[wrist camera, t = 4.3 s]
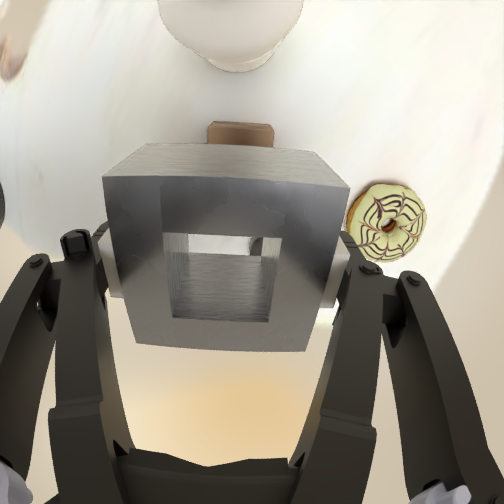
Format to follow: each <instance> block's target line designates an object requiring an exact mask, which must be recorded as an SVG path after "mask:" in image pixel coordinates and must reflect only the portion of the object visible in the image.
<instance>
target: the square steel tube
mask: <svg viewBox="0 0 504 504" xmlns="http://www.w3.org/2000/svg"><path fill="white" fill-rule="evenodd" d="M102 180H103V189H104V197H105V205H106V212H107V218H108V224H109V230H110V236H111V242H112V247H113V252H114V257H115V262H116V267H117V272H118V276H119V280H120V285H121V289H122V293H123V297H124V301H125V305H126V308H127V312H128V316H129V319H130V323H131V327H132V330H133V333H134V337H135V340H136V343H140V344H148V345H158V346H167V347H178V348H191V349H207V350H225V351H256V352H298V351H299V352H300V351H305V350H306V347H307V344H308V341H309V338H310V335H311V332H312V329H313V326H314V323H315V320H316V317H317V313H318V310H319V307H320V304H321V300H322V297H323V294H324V290H325V287H326V283H327V280H328V276H329V273H330V269H331V265H332V262H333V258H334V254H335V250H336V247H337V243H338V239H339V235H340V231H341V227H342V223H343V218H344V214H345V210H346V205H347V201H348V197H349V192H350V187H349V186H348V185H347V184H346V183H345V182H344V181H343V180H342V179H341V178H340V177H339V176H338V175H337V174H336V173H335V172H334V171H333V170H332V169H331V168H330V167H329V166H328V165H327V164H326V163H325V162H324V161H323V160H322V159H321V158H320V157H319V156H318V155H317V154H316V153H315V152H309V151H301V150H292V149H282V148H271V147H258V146H244V145H225V144H188V143H167V144H146V145H144V146H143V147H141V148H140V149H138V150H137V151H136V152H134V153H133V154H131V155H130V156H129V157H127V158H126V159H124V160H123V161H122V162H120V163H119V164H118V165H116V166H115V167H114V168H112V169H111V170H110V171H108V172H107V173H106V174H105V175H103V176H102ZM188 234H207V235H227V236H247V237H263V245H262V254H261V256H247V255H227V254H206V253H189V250H188Z"/></svg>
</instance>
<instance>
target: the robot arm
mask: <svg viewBox="0 0 504 504" xmlns="http://www.w3.org/2000/svg"><path fill="white" fill-rule="evenodd" d="M3 219H4V199H3V193H2V189H1V186H0V228H1V226H2V223H3ZM60 242H61V246H62V250H63V253H64V257H65V259H64V261H60V262H53V263H51V262H50V259H49V256H48V255H47V254H42V253H41V254H35V255H33V256H31V257H30V258H29V259H27V260H26V262H25V263H24V264H23V266H22V268H21V269H20V271H19V272H18V274H17V275H16V277H15V279H14V281H13V282H12V284H11V286H10V287H9V289H8V291H7V292H6V294H5V296H4V298H3V300H2V301H1V303H0V504H30V503H32V501H33V495H32V493H31V491H30V490H29V489H28V488H27V486H26V484H25V481H26V478H27V475H28V470H29V466H30V460H31V454H32V447H33V439H34V432H35V425H36V420H37V414H38V408H39V403H40V399H41V394H42V389H43V385H44V380H45V377H46V372H47V369H48V365H49V361H50V358H51V354H52V351H53V347H54V344H55V341H56V346H55V347H56V348H55V349H56V350H55V386H56V406H55V408H51V409H50V410H49V413H48V426H49V437H50V445H51V452H52V460H53V466H54V472H55V477H56V482H57V487H58V492H59V493H58V494H57V495H56V496H54V497H53V498H51V499H50V500H49V501H47V502H46V503H44V504H362V501H363V497H364V493H365V489H366V485H367V481H368V477H369V473H370V468H371V464H372V459H373V454H374V449H375V444H376V436H377V433H376V429H375V428H374V427H372V425H371V420H372V414H373V407H374V401H375V394H376V386H377V378H378V369H379V359H380V346H381V345H380V344H381V332H382V336H383V341H384V345H385V350H386V354H387V359H388V363H389V369H390V374H391V379H392V384H393V390H394V396H395V402H396V408H397V415H398V421H399V428H400V437H401V445H402V455H403V466H404V475H405V483H406V488H407V492H408V496H409V499H410V502H409V504H504V478H503V476H502V474H501V472H500V470H499V468H498V466H497V464H496V462H495V460H494V458H493V456H492V454H491V452H490V450H489V449H488V446H487V441H486V437H485V433H484V429H483V425H482V421H481V417H480V414H479V410H478V407H477V404H476V400H475V397H474V394H473V390H472V387H471V384H470V382H469V378H468V376H467V373H466V370H465V367H464V364H463V362H462V359H461V357H460V354H459V351H458V349H457V346H456V344H455V342H454V339H453V337H452V334H451V332H450V330H449V327H448V325H447V323H446V321H445V318H444V316H443V314H442V312H441V310H440V308H439V306H438V303H437V301H436V299H435V297H434V295H433V293H432V291H431V289H430V287H429V285H428V283H427V281H426V280H425V279H424V278H423V277H422V276H421V275H420V274H418V273H416V272H413V271H403V272H401V274H400V276H399V279H396V278H392V277H388V276H385V275H383V271H382V269H381V268H380V267H379V266H378V265H377V264H375V263H373V262H371V261H368V260H366V258H365V257H364V255H363V254H362V252H361V250H360V249H359V247H358V245H357V244H356V242H355V241H354V239H353V237H352V236H351V235H349V234H348V233H347V232H345V231H340V235H339V239H338V243H337V247H336V250H335V254H334V258H333V262H332V265H331V269H330V273H329V276H328V280H327V283H326V287H325V290H324V294H323V297H322V300H321V304H320V307H319V308H333V307H334V304H335V301H336V298H337V299H338V302H339V307H338V310H337V313H336V316H335V318H334V321H333V324H332V325H334V326H333V330H332V334H331V338H330V342H329V346H328V349H327V353H326V357H325V360H324V364H323V368H322V371H321V374H320V378H319V381H318V384H317V388H316V391H315V394H314V398H313V400H312V403H311V407H310V410H309V413H308V416H307V419H306V422H305V424H304V427H303V430H302V433H301V436H300V439H299V441H298V444H297V447H296V449H295V451H294V453H293V455H292V457H291V459H290V461H289V464H288V460H287V458H273V459H272V458H271V459H246V460H242V461H237V462H232V463H227V464H222V465H216V466H210V467H206V466H201V465H198V464H195V463H192V462H189V461H186V460H183V459H180V458H177V457H174V456H172V455H169V454H166V453H159V452H152V451H146V450H141V449H136V448H135V446H134V444H133V441H132V439H131V436H130V432H129V428H128V425H127V421H126V417H125V412H124V408H123V404H122V399H121V395H120V390H119V385H118V380H117V375H116V369H115V363H114V357H113V350H112V343H111V336H110V328H109V319H108V310H107V301H106V297H105V292H106V290H107V288H109V292H110V295H111V297H116V298H124V297H123V293H122V289H121V285H120V280H119V276H118V272H117V267H116V262H115V257H114V252H113V247H112V242H111V236H110V230H109V224H108V221H107V222H105V223H103V224H102V225H101V226H100V227H99V228H98V229H97V232H95V233H94V234H93V236H92V237H90V233H89V231H87V230H85V229H76V230H72V231H70V232H68V233H66V234H64V235H63V236H62V237H61V239H60ZM37 303H38V306H37Z"/></svg>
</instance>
